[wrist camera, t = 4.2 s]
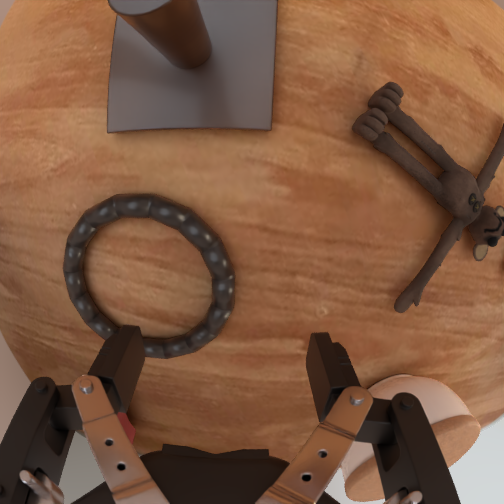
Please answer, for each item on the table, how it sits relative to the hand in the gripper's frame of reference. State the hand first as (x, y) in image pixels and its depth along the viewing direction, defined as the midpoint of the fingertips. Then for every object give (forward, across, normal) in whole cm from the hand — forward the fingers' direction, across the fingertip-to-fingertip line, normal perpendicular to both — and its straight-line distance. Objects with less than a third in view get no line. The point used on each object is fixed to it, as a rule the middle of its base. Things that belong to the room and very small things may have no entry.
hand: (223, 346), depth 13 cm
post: (+6, +2, -14) cm, 15 cm away
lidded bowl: (+6, -15, +13) cm, 21 cm away
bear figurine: (+6, -14, -8) cm, 17 cm away
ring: (+6, +6, 0) cm, 8 cm away
